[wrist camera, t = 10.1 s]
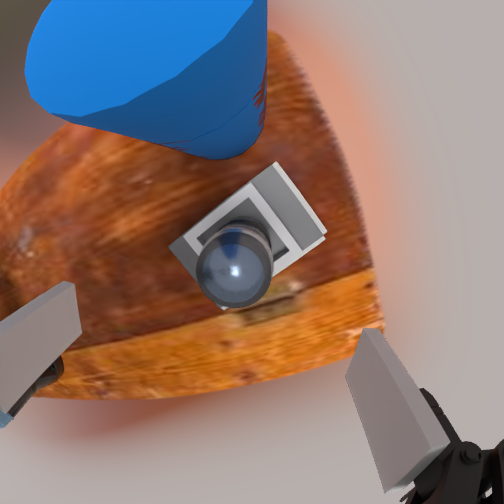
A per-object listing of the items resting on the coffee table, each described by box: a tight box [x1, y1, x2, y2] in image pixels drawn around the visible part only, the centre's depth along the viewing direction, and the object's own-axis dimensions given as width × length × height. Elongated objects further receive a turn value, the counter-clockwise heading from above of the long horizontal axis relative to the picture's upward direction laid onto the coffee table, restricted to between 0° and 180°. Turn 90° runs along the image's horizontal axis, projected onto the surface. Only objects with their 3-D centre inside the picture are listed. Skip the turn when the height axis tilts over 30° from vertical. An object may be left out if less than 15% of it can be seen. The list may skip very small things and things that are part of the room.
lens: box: [196, 216, 274, 308], centre depth 23 cm, size 6×6×10 cm
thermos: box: [25, 0, 267, 160], centre depth 17 cm, size 11×11×25 cm
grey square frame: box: [168, 161, 327, 310], centre depth 30 cm, size 15×10×7 cm, turn 128°
